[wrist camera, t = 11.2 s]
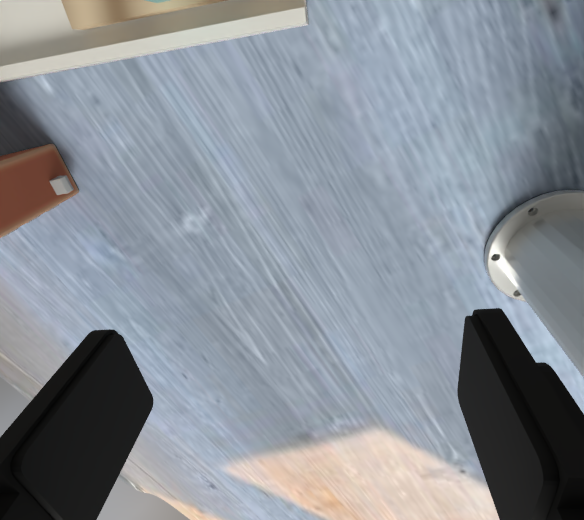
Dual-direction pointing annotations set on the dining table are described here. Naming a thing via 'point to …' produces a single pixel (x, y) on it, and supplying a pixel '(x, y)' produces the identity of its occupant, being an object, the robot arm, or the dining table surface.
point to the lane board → (127, 33)
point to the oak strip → (120, 10)
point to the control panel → (32, 185)
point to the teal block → (157, 1)
